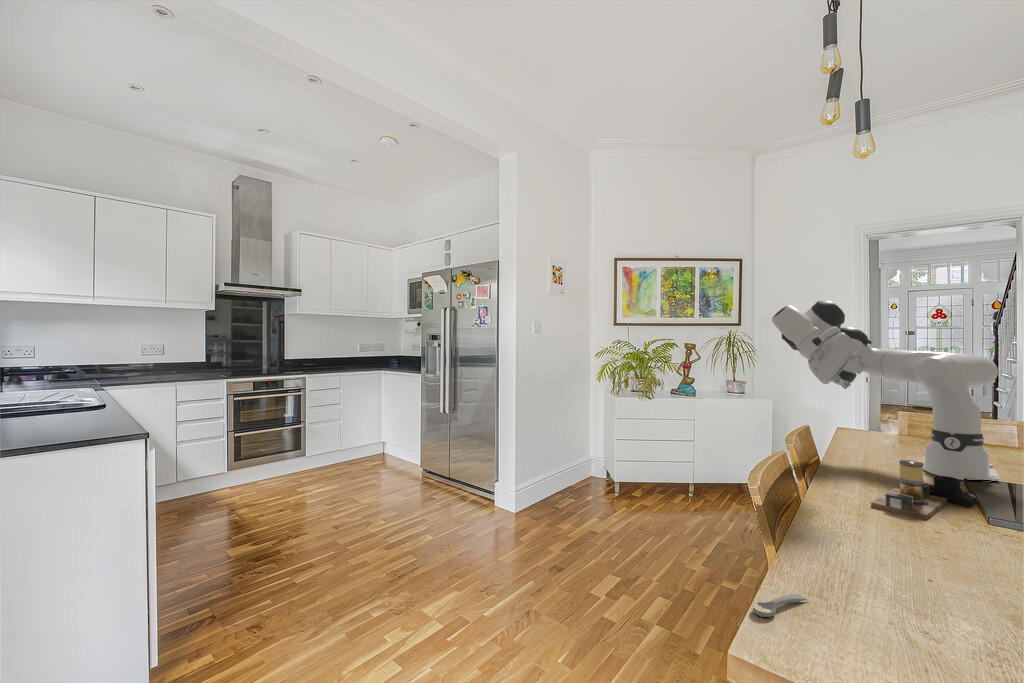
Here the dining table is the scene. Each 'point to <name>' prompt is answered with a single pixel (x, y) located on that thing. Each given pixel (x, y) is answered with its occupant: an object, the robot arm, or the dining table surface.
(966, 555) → the dining table surface
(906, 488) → the yellow and grey cylinder
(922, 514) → the board
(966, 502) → the film camera
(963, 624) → the dining table surface
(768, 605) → the grey bottle opener
